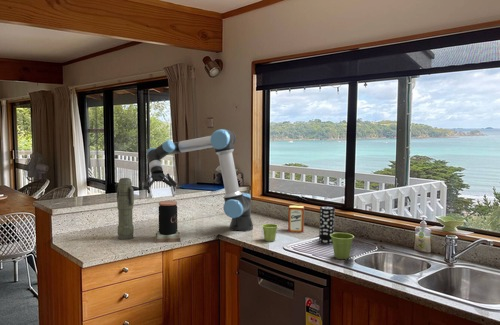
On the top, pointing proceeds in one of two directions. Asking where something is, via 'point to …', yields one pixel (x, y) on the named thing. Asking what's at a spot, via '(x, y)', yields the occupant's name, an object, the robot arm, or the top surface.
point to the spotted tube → (326, 224)
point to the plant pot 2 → (342, 244)
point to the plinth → (167, 237)
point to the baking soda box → (296, 218)
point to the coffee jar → (167, 217)
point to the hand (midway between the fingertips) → (162, 196)
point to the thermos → (125, 208)
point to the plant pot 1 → (269, 231)
